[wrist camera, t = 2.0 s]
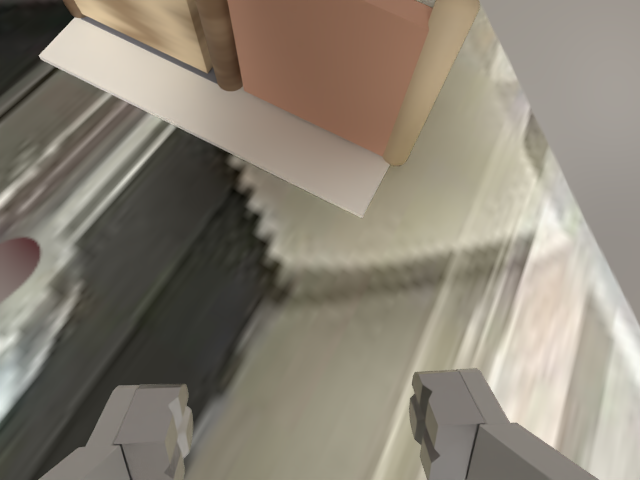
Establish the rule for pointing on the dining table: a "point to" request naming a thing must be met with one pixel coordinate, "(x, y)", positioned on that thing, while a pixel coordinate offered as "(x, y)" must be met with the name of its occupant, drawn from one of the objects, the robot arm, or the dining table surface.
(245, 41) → the swing panel
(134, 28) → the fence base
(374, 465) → the dining table surface
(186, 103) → the card
